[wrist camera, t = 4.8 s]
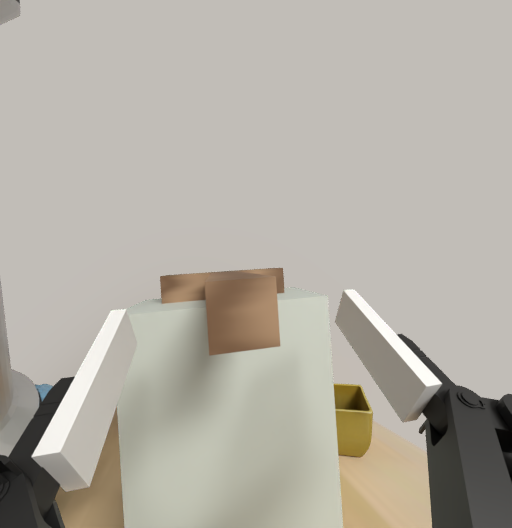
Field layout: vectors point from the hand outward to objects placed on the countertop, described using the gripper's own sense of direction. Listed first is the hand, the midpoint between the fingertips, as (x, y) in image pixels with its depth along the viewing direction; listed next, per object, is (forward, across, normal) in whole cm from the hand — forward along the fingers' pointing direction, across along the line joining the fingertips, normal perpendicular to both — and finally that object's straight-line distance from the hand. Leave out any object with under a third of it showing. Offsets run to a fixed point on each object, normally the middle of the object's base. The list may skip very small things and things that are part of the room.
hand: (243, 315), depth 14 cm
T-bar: (+5, -1, -3) cm, 6 cm away
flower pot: (+6, +19, -39) cm, 44 cm away
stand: (-5, 0, -32) cm, 33 cm away
